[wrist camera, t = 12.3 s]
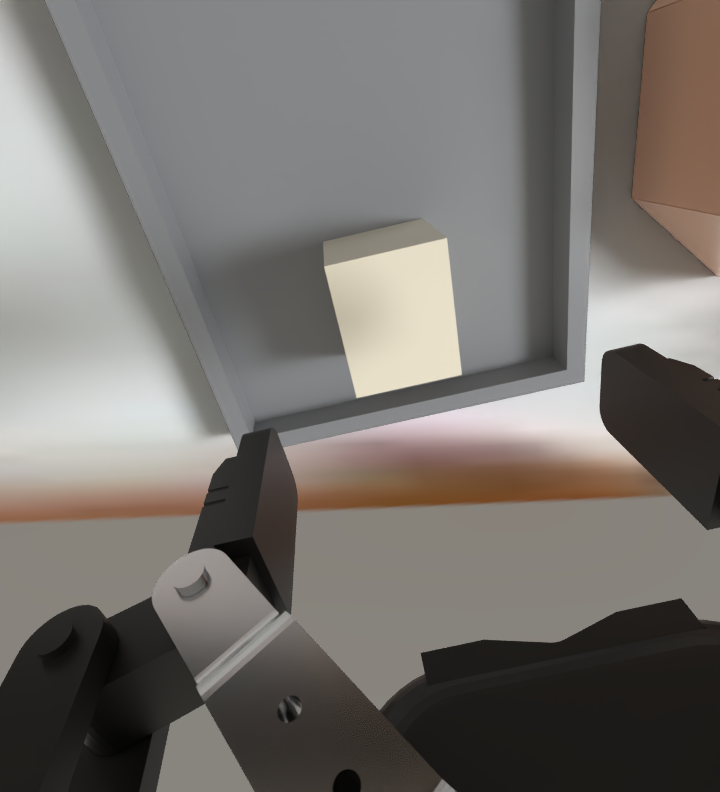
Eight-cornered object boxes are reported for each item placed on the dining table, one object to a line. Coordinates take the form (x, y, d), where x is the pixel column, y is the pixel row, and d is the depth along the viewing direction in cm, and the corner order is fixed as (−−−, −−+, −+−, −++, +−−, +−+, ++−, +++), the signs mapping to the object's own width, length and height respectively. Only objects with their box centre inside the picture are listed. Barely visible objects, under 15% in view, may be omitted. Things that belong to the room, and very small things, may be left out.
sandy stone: (323, 241, 18) (324, 266, 15) (422, 218, 18) (446, 237, 14) (350, 354, 21) (356, 398, 17) (437, 334, 20) (462, 374, 17)
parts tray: (-6, -187, 12) (-58, -239, 11) (576, -347, 12) (619, -430, 10) (246, 432, 23) (240, 456, 21) (563, 362, 22) (583, 381, 21)
